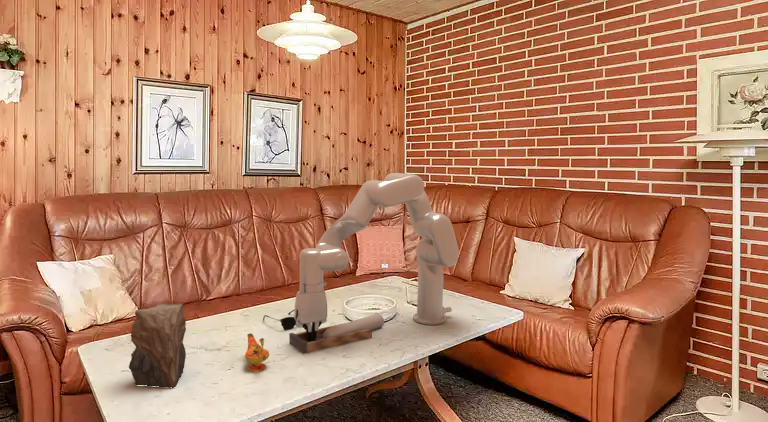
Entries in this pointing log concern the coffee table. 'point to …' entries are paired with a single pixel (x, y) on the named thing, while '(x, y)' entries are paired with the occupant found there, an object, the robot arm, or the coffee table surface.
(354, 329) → the tube
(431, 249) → the robot arm
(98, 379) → the coffee table surface
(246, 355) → the magic lamp
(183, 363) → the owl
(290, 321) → the sunglasses
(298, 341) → the trap channel
